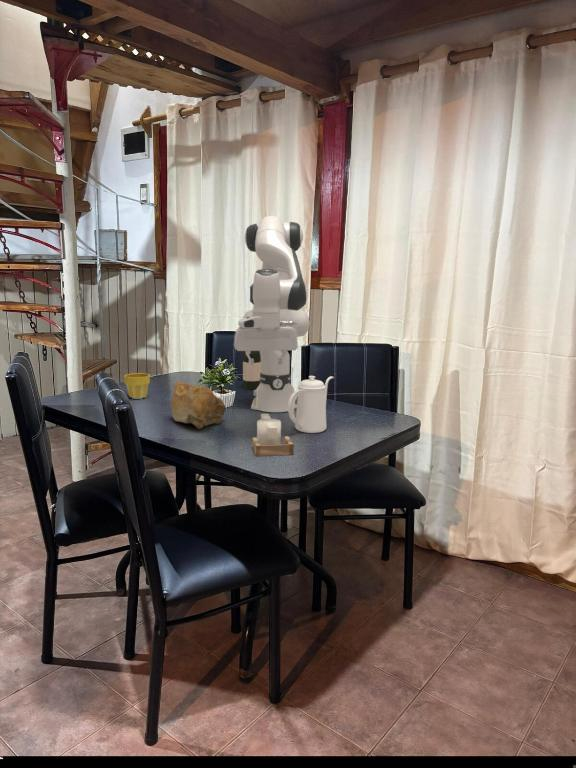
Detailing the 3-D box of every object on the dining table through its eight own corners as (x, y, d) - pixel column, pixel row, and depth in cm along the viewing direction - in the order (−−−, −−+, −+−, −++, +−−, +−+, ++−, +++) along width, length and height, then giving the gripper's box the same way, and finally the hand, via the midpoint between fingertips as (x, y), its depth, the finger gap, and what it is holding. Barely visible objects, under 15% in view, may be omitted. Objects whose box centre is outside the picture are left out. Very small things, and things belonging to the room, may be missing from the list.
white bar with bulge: (275, 433, 193) (275, 413, 192) (284, 449, 177) (285, 427, 175) (253, 434, 192) (253, 413, 190) (260, 450, 175) (260, 428, 174)
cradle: (252, 446, 178) (252, 437, 178) (288, 445, 180) (288, 436, 180) (256, 456, 170) (256, 446, 169) (293, 454, 172) (293, 444, 171)
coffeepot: (344, 424, 205) (346, 373, 201) (301, 440, 186) (302, 383, 182) (320, 419, 212) (321, 369, 208) (276, 433, 193) (276, 378, 189)
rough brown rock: (238, 430, 199) (240, 387, 197) (193, 433, 189) (195, 388, 187) (208, 417, 218) (210, 378, 216) (167, 419, 208) (168, 378, 207)
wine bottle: (264, 388, 263) (265, 322, 257) (254, 391, 256) (254, 324, 250) (249, 385, 268) (250, 321, 261) (239, 388, 261) (239, 322, 254)
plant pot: (129, 395, 245) (128, 372, 243) (153, 395, 245) (152, 373, 243) (121, 400, 235) (120, 377, 233) (146, 401, 234) (145, 377, 232)
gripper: (296, 320, 187) (295, 362, 190) (233, 320, 183) (233, 363, 186) (300, 322, 181) (299, 365, 184) (235, 322, 177) (235, 366, 180)
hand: (265, 364), depth 185 cm, fingers open, 8 cm apart
